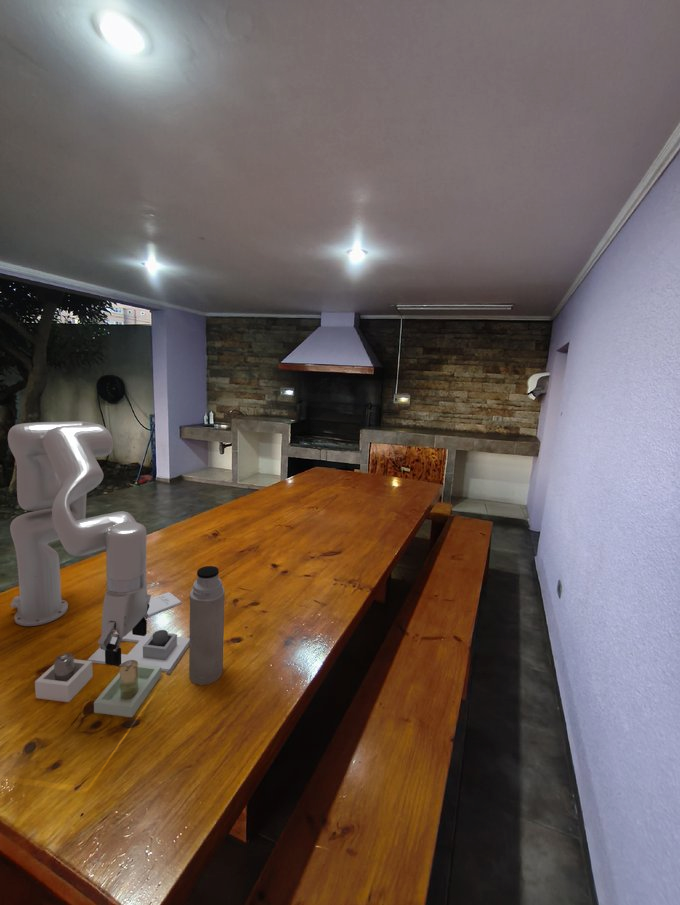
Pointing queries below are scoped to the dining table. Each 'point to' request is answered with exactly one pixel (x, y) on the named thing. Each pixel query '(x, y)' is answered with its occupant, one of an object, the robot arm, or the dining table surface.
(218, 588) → the thermos bottle
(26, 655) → the dining table surface
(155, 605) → the external hard drive
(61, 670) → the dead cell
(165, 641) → the test button
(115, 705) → the pale green trough
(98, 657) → the checker
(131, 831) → the dining table surface
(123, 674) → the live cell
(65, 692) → the white open box
